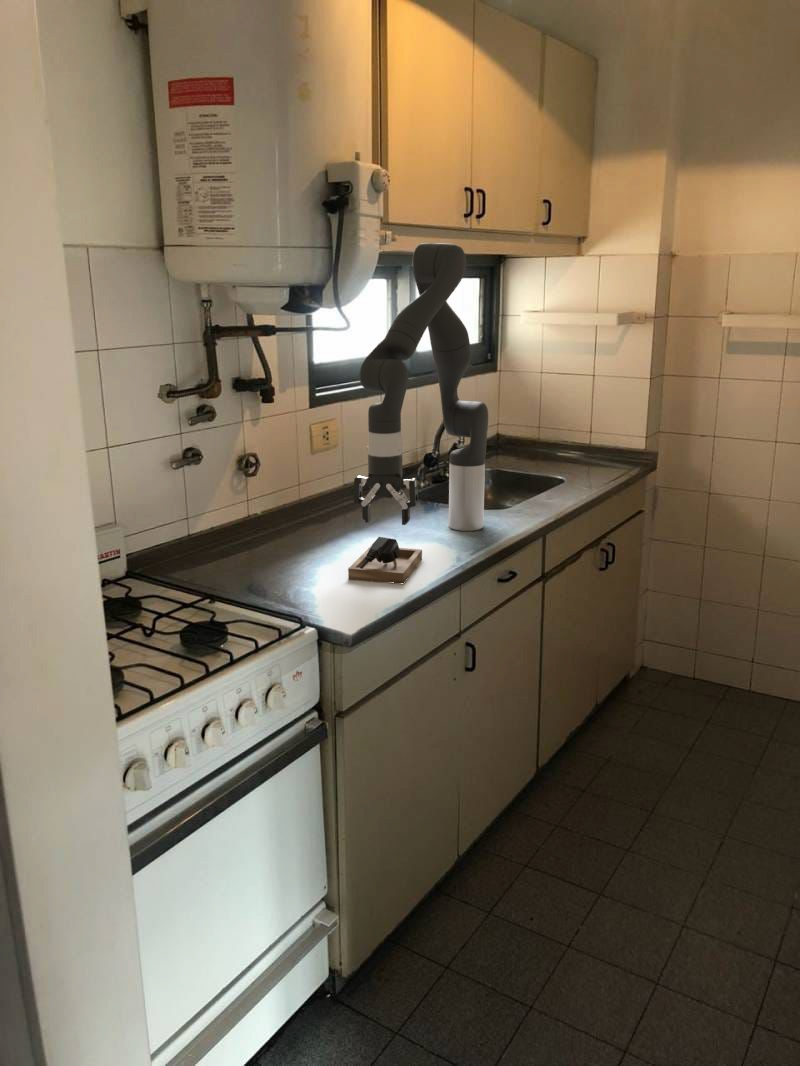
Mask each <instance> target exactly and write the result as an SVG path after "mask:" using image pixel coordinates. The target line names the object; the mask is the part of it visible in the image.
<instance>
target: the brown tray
mask: <svg viewBox="0 0 800 1066" xmlns="http://www.w3.org/2000/svg"><path fill="white" fill-rule="evenodd" d="M371 547H372V545H370V546H369V547H368V548H367V549H366V550H365V551H364V552H363V553H362V554H361V555H360V557H358V558H357V560H355V561H354V562H353V563H352V564H351V565H350V566H349V567H348V568H347V572H348V578H347V579H348V580H351V581H362V582H372V581H373V582H374V583H383V582H394V583H393V584H395V583H404V582H405V583H406V582H407V580H408V579H409V578H410V576H411V575H412V573H414V571H415V570H416V569H417V567H418V566H419V564H420V563H421V562H422V561H423V549H420V548H419V549H418V548H406V547H404V548H403V547H399V549H400V554H399V557H398V558H396V562H397V565H396V566H395V565H394V563H393V562H390V563H387V564H386V563H383V562H382V561H381V563H380V562H378V561H377V559H374V560H373V561H372V562H368V563H367V564H366V565H365V566H364V568H363V569H361V568H360V566H361V565H362V564H363V563H364V562H365V560H366V559H365V557H366V556H367V553H368V551H369V550H370V548H371ZM407 578H408V579H407ZM406 579H407V580H406ZM405 583H404V584H405Z"/></svg>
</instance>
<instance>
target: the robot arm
mask: <svg viewBox="0 0 800 1066" xmlns="http://www.w3.org/2000/svg"><path fill="white" fill-rule="evenodd" d="M411 264H412V273H413V277H414V281H415V282H414V283H415V284H416V288H417V291H418V295H419V296H418V297H416V298H415V299H414V300H412V301H411V302H410V303H408V305H406V306H405V307H404V308H402V309H401V310H400V312H398V314H397V315H396V317H395V318H394V320H393V322H392V324H391V325H390V327H389V329H388V331H387V333H386V335H385V337H384V338H383V340H381V341H380V343H378V344H377V345H376V346H375V348H374V349H372V351H371V352H369V354H368V355H367V356H366V357H365V359H364V360H363V362H362V364H361V366H360V369H359V375H358V377H359V382H360V384H361V386H362V387H363V388H364V389H365V390H366V391H370V392H378V393H384V397H383V400H382V402H381V401H380V402H376V403H373V404H370V406H369V407H368V410H367V411H368V415H367V418H368V420H367V421H368V426H367V429H368V435H367V446H366V447H367V473H368V475H367V476H363V475H362V474H359V475H357V476H356V477H354V479H353V480H354V481H353V503H354V504H359V505H361V510H362V514H361V515H362V516H361V517H362V519H363V521H364V523H366V524H367V523H370V522H371V520H372V517H371V516H372V514H371V513H372V512H371V511H372V509H371V508H372V507H371V506H372V505H371V504H370V503H371V502H372V500H373V499H374V497H377V498H387V499H392V498H394V499H395V501H396V502H398V503H399V505H400V507H402V509H401V525H402V526H406V525H407V524H408V523H409V521H410V520H411V508H414V507H416V506H417V504H418V503H419V493H418V480H417V478H416V477H412V478H409V479H408V478H407V479H406V478H405V477H404V476H403V438H402V422H401V421H402V417H401V416H402V415H401V413H402V409H403V405H404V400H405V397H406V392H407V389H408V385H409V381H410V380H409V379H410V378H409V377H410V375H409V370H408V367H407V366H406V363H404V361H407V360H409V359H410V358H412V356H413V355H414V353H415V352H416V349H417V348H418V346H419V344H420V342H421V340H422V338H423V336H424V333H425V332H426V330H427V329H428V334H429V342H430V346H431V352H432V358H433V361H434V365H435V370H436V376H437V379H438V385H439V393H440V403H441V410H442V420H443V425H444V429H445V432H446V433H447V434H448V435H450V436H452V437H459V438H469V439H470V440H469V443H468V445H466V446H464V447H462V448H457V449H454V450H452V451H451V452H450V453H449V469H448V470H449V471H448V472H449V473H448V474H449V477H448V478H449V479H448V480H449V481H448V491H449V493H448V528H450V529H452V530H456V531H462V532H463V531H464V532H465V531H466V532H469V531H471V532H472V531H478V530H481V529H483V528H484V516H485V515H484V514H485V476H486V475H485V474H486V473H485V471H486V453H487V441H488V428H489V427H488V426H489V410H488V406H487V405H486V403H484V402H482V401H472V400H460V399H459V396H458V387H459V385H460V382H461V381H462V379H463V377H464V375H465V373H466V371H467V369H468V368H469V366H470V362H471V360H472V349H471V343H470V342H471V341H470V338H469V331H468V329H467V328H466V325H465V324H464V323H463V321H462V320H461V318H460V317H459V316H458V314H456V311H454V309H453V308H452V307H451V306H450V304H449V302H448V301H447V300H449V298H450V296H451V295H452V294H453V293H454V291H455V290H456V289H457V288H458V286H459V285H460V283H461V281H462V279H463V277H464V275H465V272H466V267H467V257H466V254H465V251H464V249H463V248H462V247H461V246H460V245H458V244H454V243H444V242H443V243H442V242H441V243H440V242H439V243H438V242H434V243H433V242H423V243H419V245H417V246H416V247H415V249H414V251H413V254H412V263H411ZM366 484H367V485H368V487H369V489H370V490H369V492H368V493H367V494H366V496H365V498H364V497H363V487H364V486H365V485H366ZM404 485H405V486H406V489H407V490H409V499H408V497H407V496H406V494H405V492H404V491H403V490H402V488H403V486H404Z"/></svg>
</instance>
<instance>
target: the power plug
mask: <svg viewBox="0 0 800 1066" xmlns="http://www.w3.org/2000/svg"><path fill="white" fill-rule="evenodd" d="M371 546H372V547H371V548H370V550H369V551H368V553H367V556H366V557H365V559H366V560H365V562H364V563H363V564H362V565H361V566H360V568H361V569H363V568H364V566H365V565H366V564H367V563H368V562H372V561H373V560H374V559H377V561H378V562H380V563H381V561H382V562H383V563H386V564H387V563H390V562H393V563H394V565H395V566H396V565H397V562H396V558H398V557H399V554H400V549H399V548H400V546H399V544H398V541H397V539H395V538H391V537H384V536H378V537H377V539H376V540H375V541H373V543H372V544H371Z"/></svg>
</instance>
